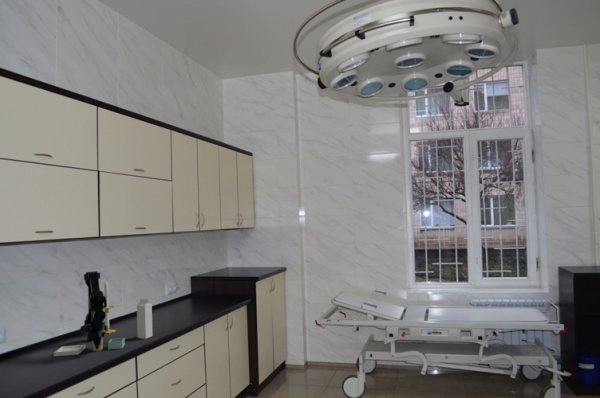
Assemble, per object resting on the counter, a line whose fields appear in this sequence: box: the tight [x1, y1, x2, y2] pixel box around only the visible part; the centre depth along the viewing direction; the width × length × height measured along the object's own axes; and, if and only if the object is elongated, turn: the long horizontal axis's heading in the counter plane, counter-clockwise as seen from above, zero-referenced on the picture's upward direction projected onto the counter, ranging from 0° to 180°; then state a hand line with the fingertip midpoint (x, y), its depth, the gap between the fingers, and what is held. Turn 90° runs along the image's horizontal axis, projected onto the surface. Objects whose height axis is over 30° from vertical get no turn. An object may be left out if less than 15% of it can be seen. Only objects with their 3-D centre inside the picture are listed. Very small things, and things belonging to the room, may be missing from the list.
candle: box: [103, 280, 117, 335], centre depth 285 cm, size 10×10×32 cm
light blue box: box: [107, 337, 126, 351], centre depth 247 cm, size 7×7×4 cm
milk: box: [136, 298, 153, 340], centre depth 267 cm, size 6×6×22 cm
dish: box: [53, 344, 86, 357], centre depth 241 cm, size 12×12×2 cm
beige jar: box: [92, 337, 104, 352], centre depth 244 cm, size 4×4×6 cm
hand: (98, 347), depth 244 cm, fingers closed on beige jar, 4 cm apart
